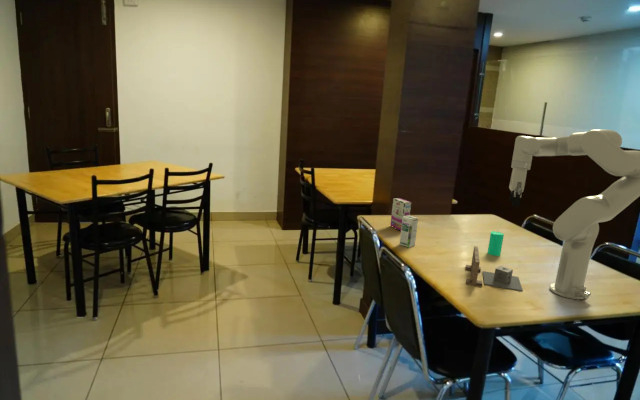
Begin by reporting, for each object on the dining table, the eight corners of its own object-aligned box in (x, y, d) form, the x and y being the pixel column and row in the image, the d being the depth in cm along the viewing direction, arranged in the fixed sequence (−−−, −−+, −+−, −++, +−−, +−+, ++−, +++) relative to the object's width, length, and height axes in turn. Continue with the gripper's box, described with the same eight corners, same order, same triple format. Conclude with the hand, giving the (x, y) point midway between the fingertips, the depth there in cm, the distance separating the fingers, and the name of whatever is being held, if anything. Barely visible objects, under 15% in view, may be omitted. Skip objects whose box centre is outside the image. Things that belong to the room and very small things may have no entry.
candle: (501, 256, 203) (505, 232, 200) (488, 254, 204) (492, 231, 201) (499, 252, 209) (503, 228, 206) (486, 250, 210) (490, 227, 207)
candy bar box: (408, 231, 234) (412, 202, 230) (401, 232, 232) (404, 202, 228) (397, 225, 244) (400, 197, 240) (389, 226, 241) (392, 198, 238)
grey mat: (518, 278, 178) (518, 276, 178) (522, 291, 165) (522, 290, 165) (482, 272, 182) (482, 271, 182) (484, 284, 169) (484, 283, 169)
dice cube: (510, 281, 173) (513, 269, 172) (505, 284, 170) (507, 272, 168) (498, 276, 176) (500, 265, 175) (493, 279, 173) (495, 268, 172)
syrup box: (398, 244, 211) (402, 216, 207) (405, 242, 215) (408, 214, 211) (408, 247, 207) (411, 219, 203) (415, 245, 211) (418, 217, 208)
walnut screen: (465, 266, 187) (468, 245, 184) (479, 269, 185) (483, 247, 183) (465, 284, 168) (469, 260, 166) (482, 287, 166) (485, 263, 164)
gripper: (509, 161, 191) (503, 198, 195) (513, 166, 175) (507, 206, 179) (527, 163, 189) (521, 200, 193) (533, 168, 173) (526, 209, 177)
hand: (514, 203), depth 186 cm, fingers open, 9 cm apart
